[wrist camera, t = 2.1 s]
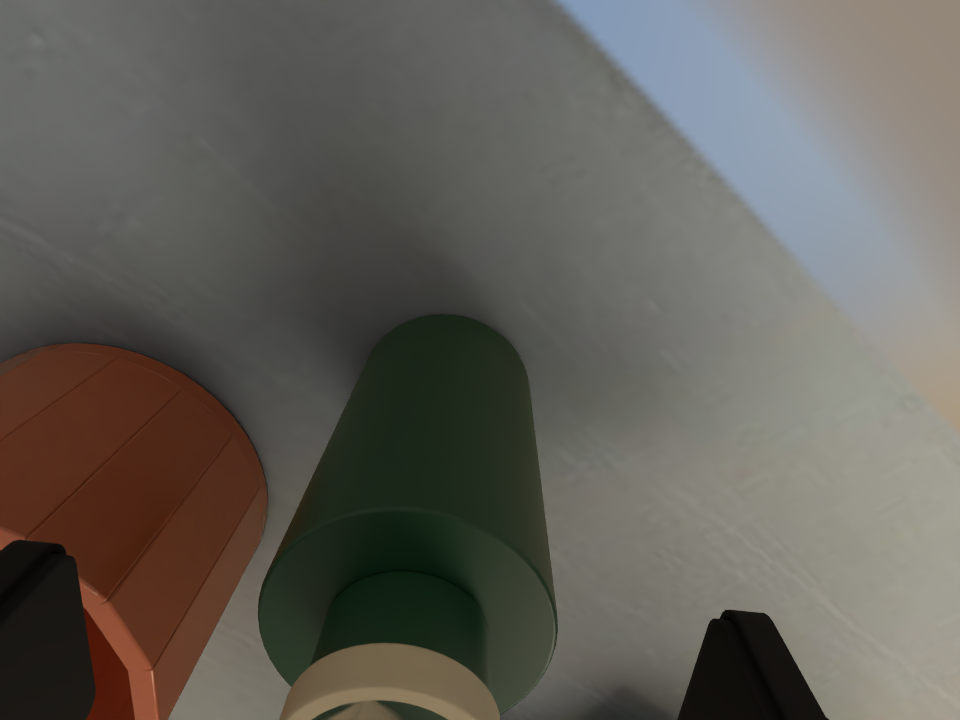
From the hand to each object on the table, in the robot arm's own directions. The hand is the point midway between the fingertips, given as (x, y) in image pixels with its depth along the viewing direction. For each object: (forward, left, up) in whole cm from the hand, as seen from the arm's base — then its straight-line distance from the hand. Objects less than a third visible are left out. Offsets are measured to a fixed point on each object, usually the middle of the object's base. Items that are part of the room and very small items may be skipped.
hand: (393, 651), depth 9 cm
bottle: (0, 0, -8) cm, 8 cm away
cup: (+4, -9, -8) cm, 12 cm away
